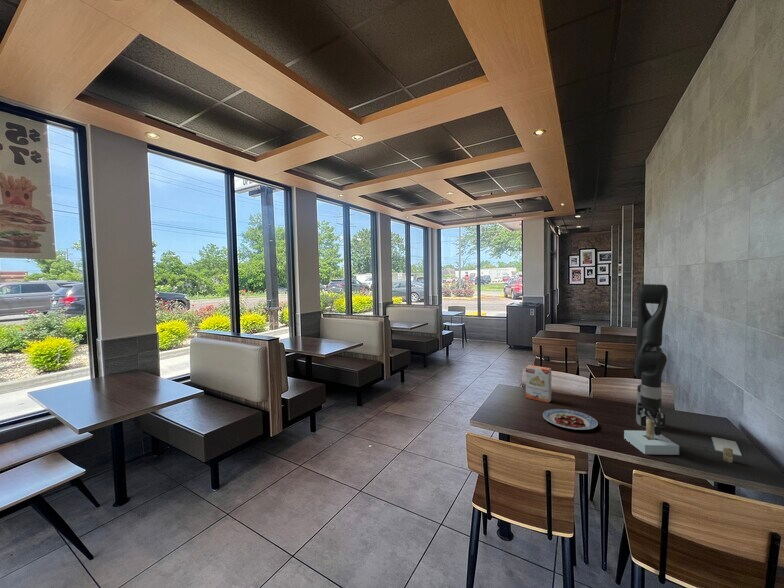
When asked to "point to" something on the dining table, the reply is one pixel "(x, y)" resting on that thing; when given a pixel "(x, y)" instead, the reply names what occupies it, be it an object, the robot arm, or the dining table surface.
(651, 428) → the long pin
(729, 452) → the short pin
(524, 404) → the dining table surface
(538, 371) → the cracker box
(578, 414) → the ceramic plate
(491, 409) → the dining table surface
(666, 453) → the hole block
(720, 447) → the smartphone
